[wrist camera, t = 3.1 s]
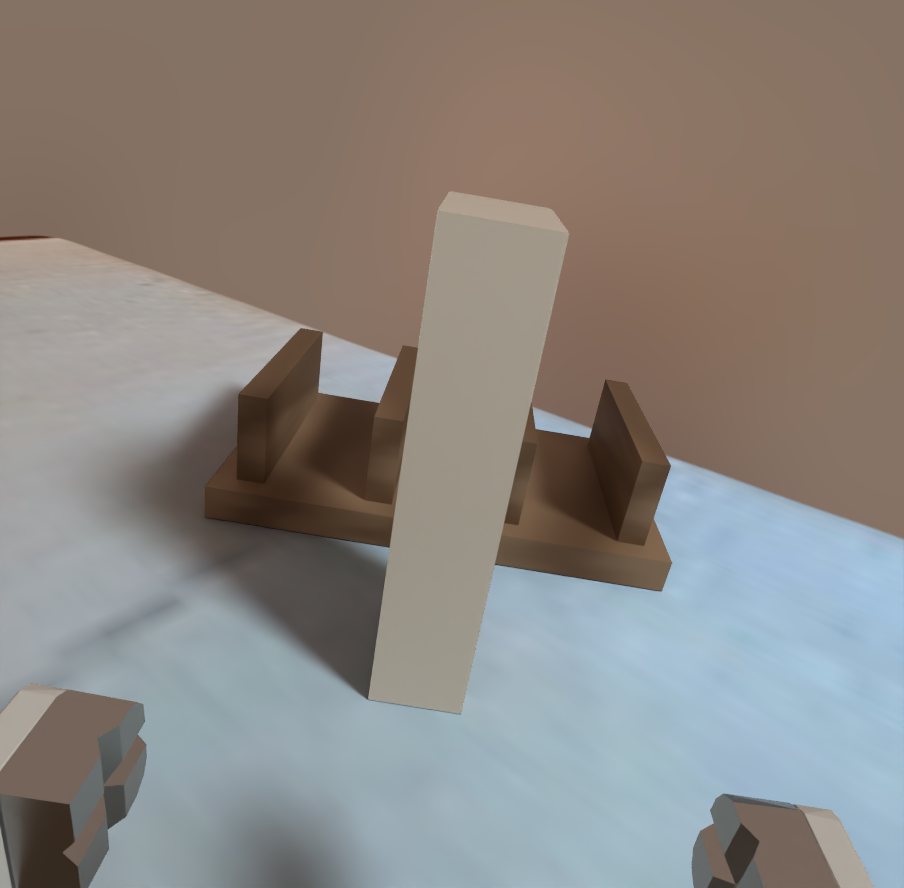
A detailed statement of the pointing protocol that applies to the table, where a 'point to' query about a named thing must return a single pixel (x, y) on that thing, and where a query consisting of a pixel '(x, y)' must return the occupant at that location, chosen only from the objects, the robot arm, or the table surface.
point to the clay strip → (463, 440)
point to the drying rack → (379, 464)
